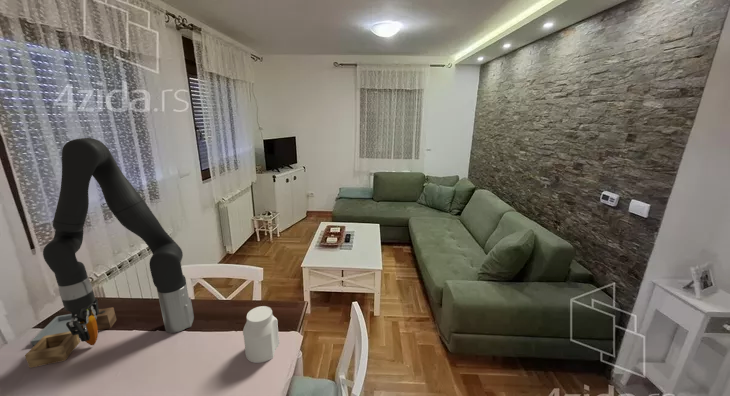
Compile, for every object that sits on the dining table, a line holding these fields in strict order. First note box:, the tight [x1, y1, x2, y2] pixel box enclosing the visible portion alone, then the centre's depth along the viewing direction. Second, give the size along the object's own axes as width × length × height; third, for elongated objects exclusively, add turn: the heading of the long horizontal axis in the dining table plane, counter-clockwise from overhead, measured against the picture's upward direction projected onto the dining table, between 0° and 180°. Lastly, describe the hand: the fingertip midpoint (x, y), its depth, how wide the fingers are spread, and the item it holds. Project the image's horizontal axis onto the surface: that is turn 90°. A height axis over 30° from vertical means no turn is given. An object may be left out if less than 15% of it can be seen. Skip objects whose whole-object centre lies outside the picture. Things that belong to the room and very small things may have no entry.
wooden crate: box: [24, 331, 81, 369], centre depth 97 cm, size 9×9×5 cm
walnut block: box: [96, 307, 117, 331], centre depth 111 cm, size 5×5×6 cm
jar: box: [242, 305, 280, 364], centre depth 99 cm, size 12×10×15 cm
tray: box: [30, 313, 80, 347], centre depth 109 cm, size 14×14×2 cm
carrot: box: [80, 309, 99, 346], centre depth 99 cm, size 5×5×15 cm
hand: (90, 334), depth 100 cm, fingers closed on carrot, 4 cm apart
